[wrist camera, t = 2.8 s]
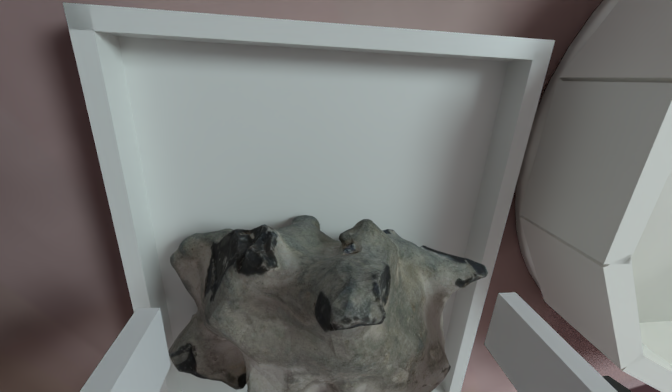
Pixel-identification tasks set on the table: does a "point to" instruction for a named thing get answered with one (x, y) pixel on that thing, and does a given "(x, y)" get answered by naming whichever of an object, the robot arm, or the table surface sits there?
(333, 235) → the tray
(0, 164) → the table surface
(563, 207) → the bowl
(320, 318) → the decorative stone
